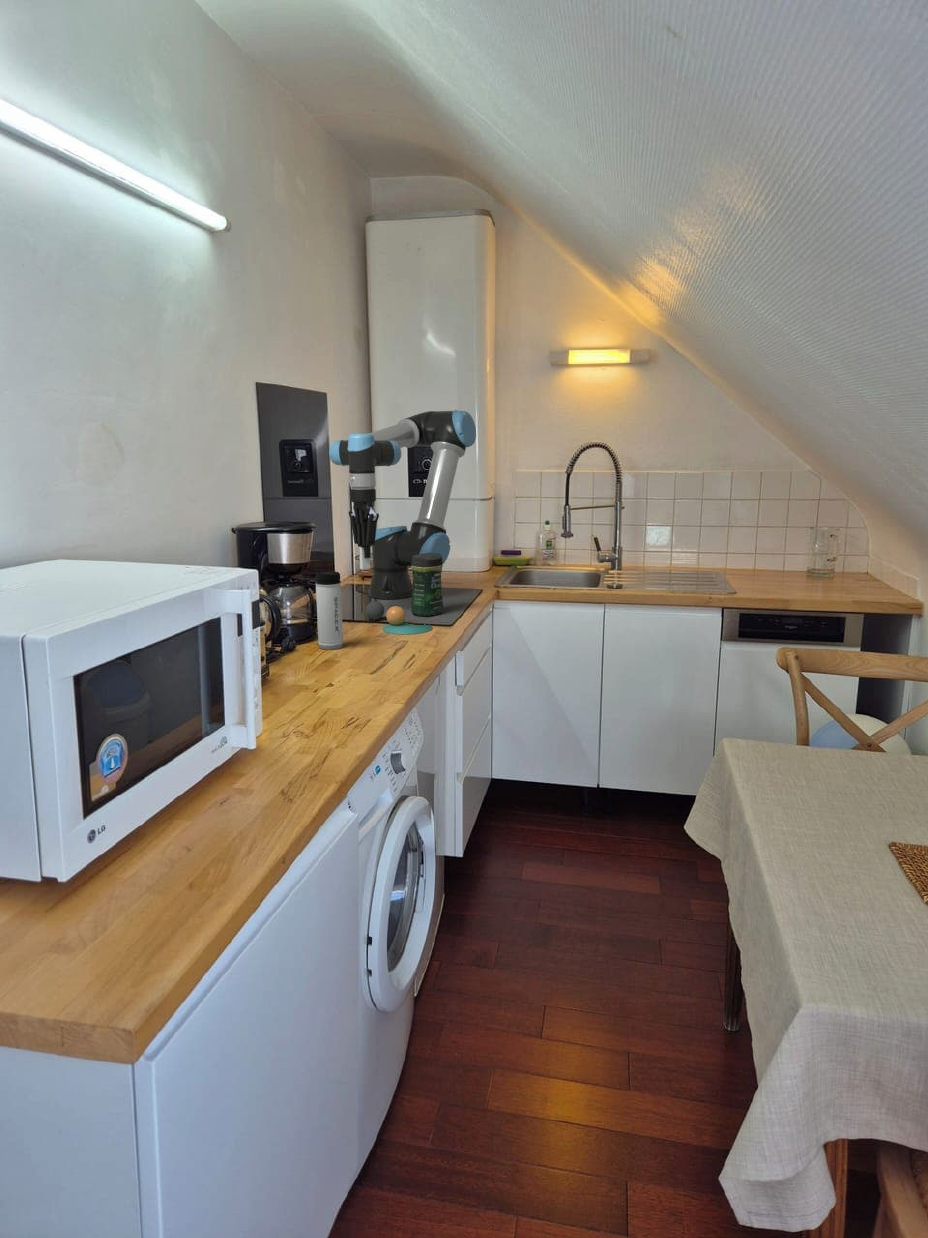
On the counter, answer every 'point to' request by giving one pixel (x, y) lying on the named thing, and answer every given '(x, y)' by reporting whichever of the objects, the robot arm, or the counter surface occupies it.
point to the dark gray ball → (374, 610)
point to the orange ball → (395, 615)
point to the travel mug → (329, 609)
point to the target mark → (406, 628)
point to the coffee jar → (427, 584)
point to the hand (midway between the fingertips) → (365, 568)
